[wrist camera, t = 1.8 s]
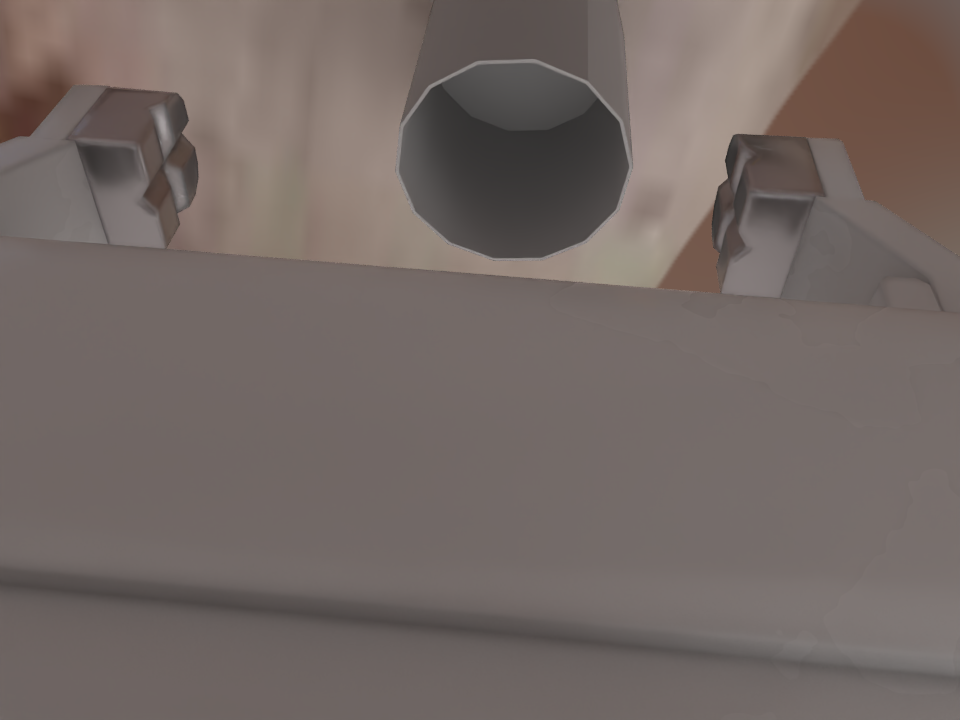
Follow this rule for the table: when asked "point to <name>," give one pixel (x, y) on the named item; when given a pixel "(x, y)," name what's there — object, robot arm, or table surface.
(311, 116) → the table surface
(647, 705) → the robot arm
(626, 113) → the cup
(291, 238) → the table surface
